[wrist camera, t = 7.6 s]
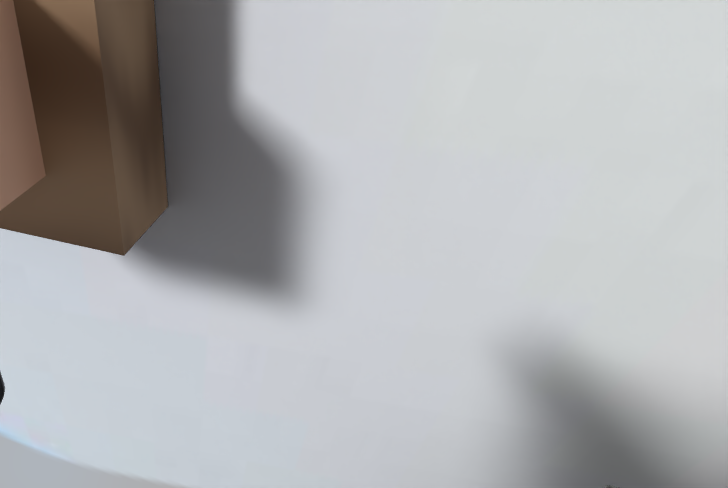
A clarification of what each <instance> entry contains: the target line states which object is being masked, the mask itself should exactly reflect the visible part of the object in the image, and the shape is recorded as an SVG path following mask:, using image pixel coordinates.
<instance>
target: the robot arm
mask: <svg viewBox="0 0 728 488" xmlns="http://www.w3.org/2000/svg"><path fill="white" fill-rule="evenodd" d="M4 392H5V386H4V382H3V379H2V375H1V372H0V404H1V402H2V399H3V397H4ZM604 488H619V487H615V486H605V487H604Z"/></svg>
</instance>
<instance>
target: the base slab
mask: <svg viewBox="0 0 728 488" xmlns="http://www.w3.org/2000/svg"><path fill="white" fill-rule="evenodd" d="M13 2H14V7H15V13H16V18H17V23H18V29H19V34H20V39H21V45H22V50H23V56H24V61H25V66H26V72H27V77H28V82H29V88H30V93H31V99H32V104H33V109H34V115H35V120H36V125H37V131H38V136H39V142H40V147H41V152H42V158H43V163H44V168H45V174H46V176H45V177H44V178H42V179H41V180H40V181H38V182H37V183H36V184H35V185H33V186H32V187H31V188H29V189H28V190H27V191H25V192H24V193H23V194H21V195H20V196H19V197H18V198H16V199H15V200H14V201H12V202H11V203H10V204H8V205H7V206H6V207H5V208H3V209H2V210H1V211H0V228H2V229H7V230H11V231H16V232H20V233H25V234H29V235H34V236H38V237H43V238H47V239H52V240H56V241H61V242H65V243H70V244H74V245H79V246H83V247H88V248H92V249H97V250H101V251H106V252H110V253H115V254H119V255H125V254H126V253H127V252H128V251H129V250H130V248H131V247H132V246H133V245H134V244H135V243H136V242H137V241H138V240H139V238H140V237H141V236H142V235H143V234H144V233H145V232H146V231H147V230H148V228H149V227H150V226H151V225H152V224H153V223H154V222H155V221H156V220H157V218H158V217H159V216H160V215H161V214H162V213H163V212H164V211H165V210H166V208H167V207H168V201H167V186H166V171H165V157H164V142H163V127H162V112H161V97H160V82H159V68H158V53H157V38H156V23H155V8H154V0H13Z"/></svg>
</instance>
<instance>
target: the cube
mask: <svg viewBox="0 0 728 488" xmlns="http://www.w3.org/2000/svg"><path fill="white" fill-rule="evenodd" d="M45 176H46V174H45V168H44V163H43V158H42V152H41V147H40V142H39V136H38V131H37V125H36V120H35V115H34V109H33V104H32V99H31V93H30V88H29V82H28V77H27V72H26V66H25V61H24V56H23V50H22V45H21V39H20V34H19V29H18V23H17V18H16V13H15V7H14V2H13V0H0V211H1V210H2V209H3V208H5V207H6V206H7V205H8V204H10V203H11V202H12V201H14V200H15V199H16V198H18V197H19V196H20V195H21V194H23V193H24V192H25V191H27V190H28V189H29V188H31V187H32V186H33V185H35V184H36V183H37V182H38V181H40V180H41V179H42V178H44V177H45Z"/></svg>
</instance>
